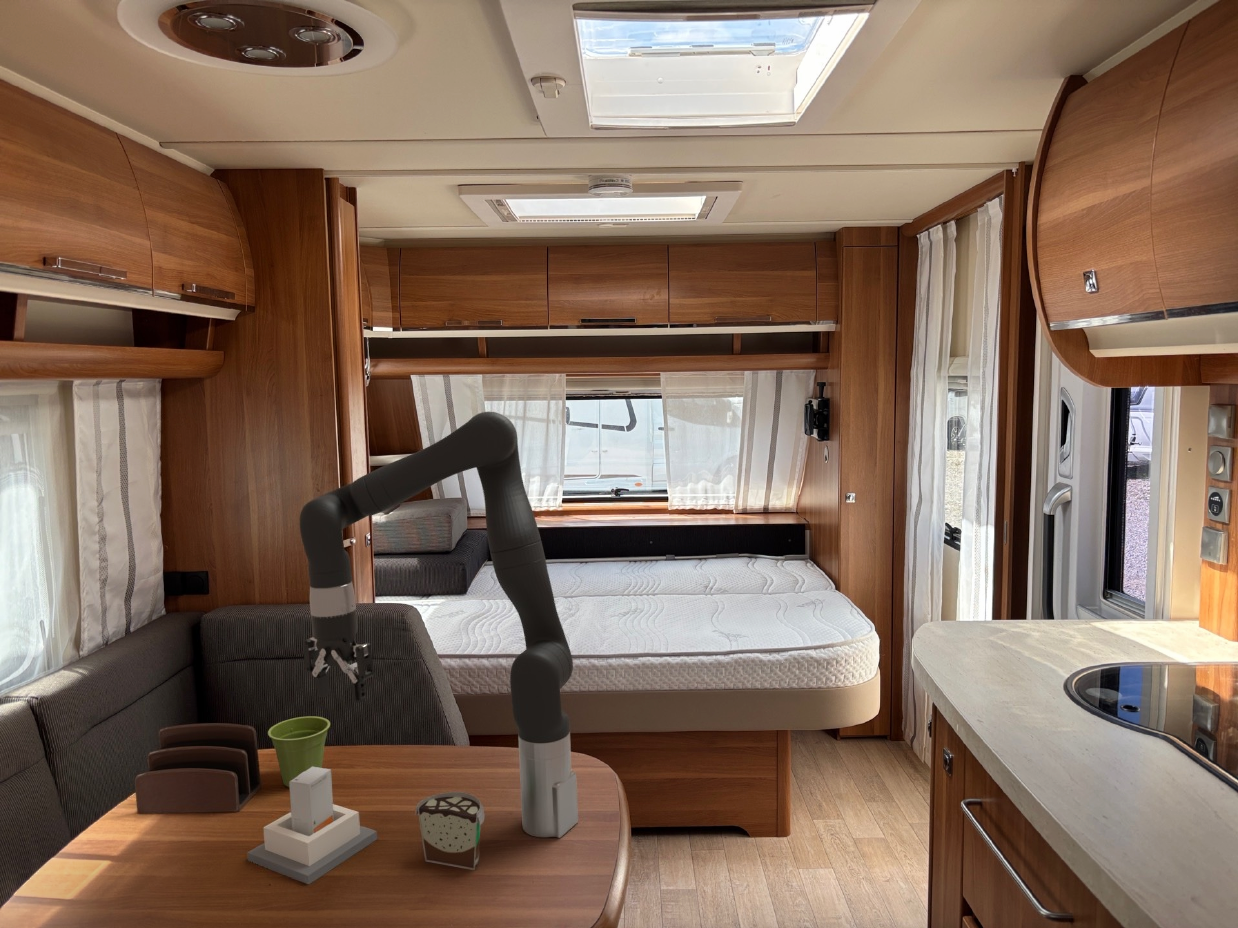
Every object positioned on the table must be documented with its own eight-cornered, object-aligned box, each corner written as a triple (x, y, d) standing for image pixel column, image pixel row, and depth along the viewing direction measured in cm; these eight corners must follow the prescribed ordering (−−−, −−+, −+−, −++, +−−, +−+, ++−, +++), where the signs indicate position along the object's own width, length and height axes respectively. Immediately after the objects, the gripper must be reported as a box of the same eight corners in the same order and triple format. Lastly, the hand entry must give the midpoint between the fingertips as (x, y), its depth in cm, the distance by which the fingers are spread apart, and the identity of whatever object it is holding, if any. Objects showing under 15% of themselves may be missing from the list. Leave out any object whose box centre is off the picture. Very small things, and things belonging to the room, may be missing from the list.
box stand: (377, 838, 148) (375, 809, 148) (308, 884, 135) (306, 852, 135) (318, 819, 156) (316, 790, 155) (247, 860, 143) (245, 829, 142)
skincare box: (313, 852, 142) (308, 784, 141) (292, 848, 144) (287, 781, 142) (336, 833, 148) (331, 768, 147) (316, 829, 149) (311, 765, 148)
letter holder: (165, 789, 170) (159, 722, 168) (262, 787, 169) (257, 720, 168) (136, 815, 160) (129, 744, 158) (239, 813, 159) (233, 742, 158)
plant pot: (321, 793, 166) (317, 738, 164) (261, 795, 166) (257, 740, 165) (341, 766, 177) (338, 714, 176) (286, 767, 178) (282, 716, 176)
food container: (500, 851, 143) (497, 795, 142) (482, 871, 138) (479, 813, 137) (437, 840, 147) (433, 786, 146) (417, 859, 142) (414, 803, 141)
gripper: (379, 606, 147) (386, 696, 148) (320, 600, 153) (328, 686, 155) (347, 618, 140) (355, 711, 142) (287, 611, 147) (296, 701, 148)
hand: (341, 698), depth 148 cm, fingers open, 8 cm apart
